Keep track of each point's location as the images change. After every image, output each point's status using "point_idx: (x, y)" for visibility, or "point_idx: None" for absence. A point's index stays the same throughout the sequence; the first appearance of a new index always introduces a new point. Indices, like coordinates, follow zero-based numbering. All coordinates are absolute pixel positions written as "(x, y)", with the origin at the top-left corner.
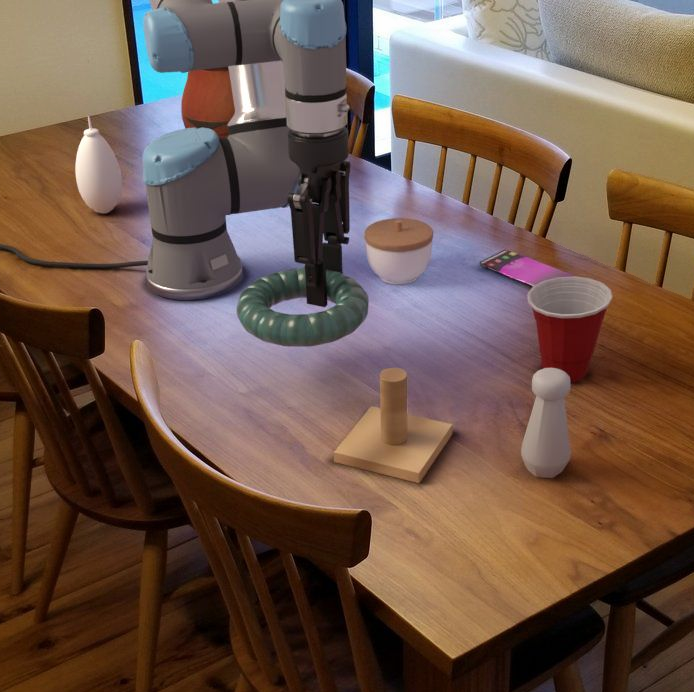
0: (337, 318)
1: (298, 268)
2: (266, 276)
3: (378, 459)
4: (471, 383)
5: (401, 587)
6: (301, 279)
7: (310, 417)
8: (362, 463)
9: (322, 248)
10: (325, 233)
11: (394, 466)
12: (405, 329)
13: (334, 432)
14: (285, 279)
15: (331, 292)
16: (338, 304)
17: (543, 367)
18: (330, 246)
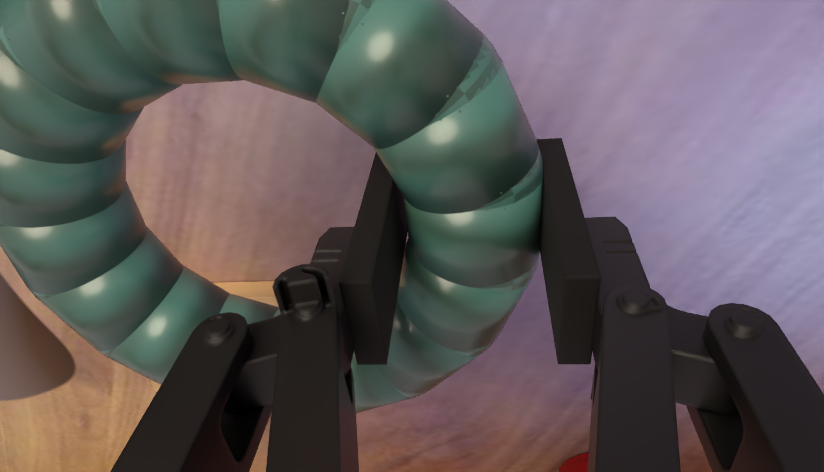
0: None
1: (451, 121)
2: (266, 8)
3: None
4: (496, 379)
5: (2, 438)
6: (389, 161)
7: (199, 179)
8: None
9: (560, 268)
10: (600, 344)
11: (154, 387)
12: (702, 194)
13: (192, 245)
14: (330, 103)
15: None
16: None
17: (575, 469)
18: (560, 324)
